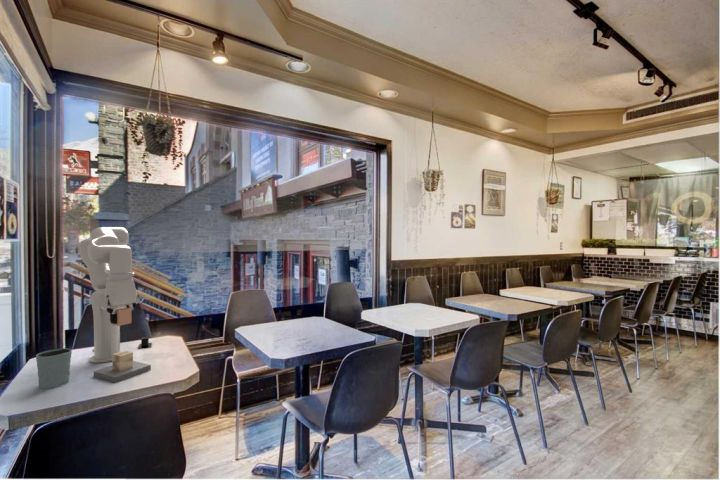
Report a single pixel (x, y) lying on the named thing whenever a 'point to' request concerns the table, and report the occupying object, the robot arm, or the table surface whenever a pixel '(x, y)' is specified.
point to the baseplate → (121, 372)
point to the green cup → (53, 367)
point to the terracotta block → (123, 316)
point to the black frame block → (145, 343)
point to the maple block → (122, 360)
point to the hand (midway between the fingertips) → (121, 321)
